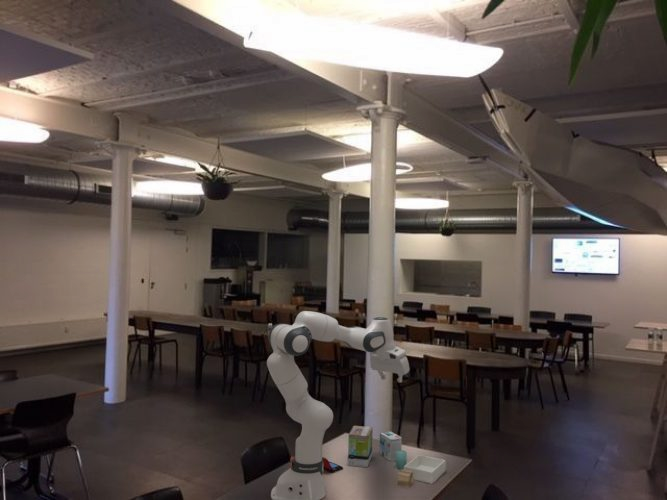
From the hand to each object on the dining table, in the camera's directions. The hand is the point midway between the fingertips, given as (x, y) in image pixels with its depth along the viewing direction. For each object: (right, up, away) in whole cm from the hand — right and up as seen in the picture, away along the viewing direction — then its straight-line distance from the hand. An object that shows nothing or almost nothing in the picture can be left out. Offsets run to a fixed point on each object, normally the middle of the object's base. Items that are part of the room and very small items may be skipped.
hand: (391, 380), depth 237 cm
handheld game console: (-30, -43, +5) cm, 52 cm away
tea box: (-14, -43, +14) cm, 47 cm away
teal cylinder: (+5, -42, +7) cm, 43 cm away
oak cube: (+5, -42, -12) cm, 44 cm away
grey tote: (+15, -42, -2) cm, 45 cm away
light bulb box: (+2, -43, +20) cm, 47 cm away
